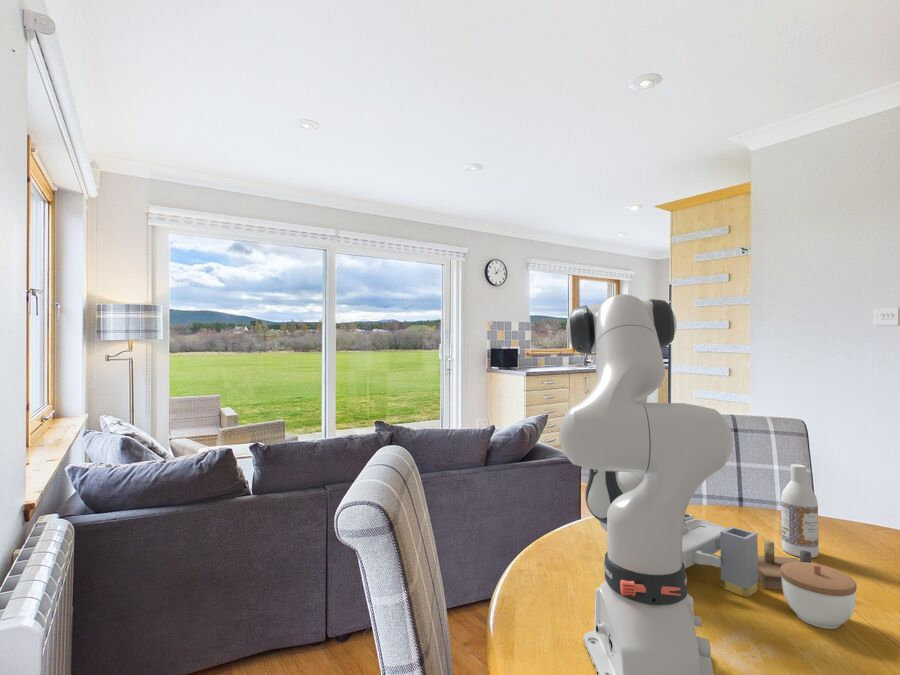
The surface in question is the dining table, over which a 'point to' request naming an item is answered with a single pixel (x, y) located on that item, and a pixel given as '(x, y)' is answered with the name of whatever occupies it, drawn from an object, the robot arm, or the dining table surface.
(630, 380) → the robot arm
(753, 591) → the sleeve
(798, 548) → the bath foam
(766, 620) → the dining table surface
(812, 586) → the lidded jar
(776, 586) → the pin block
